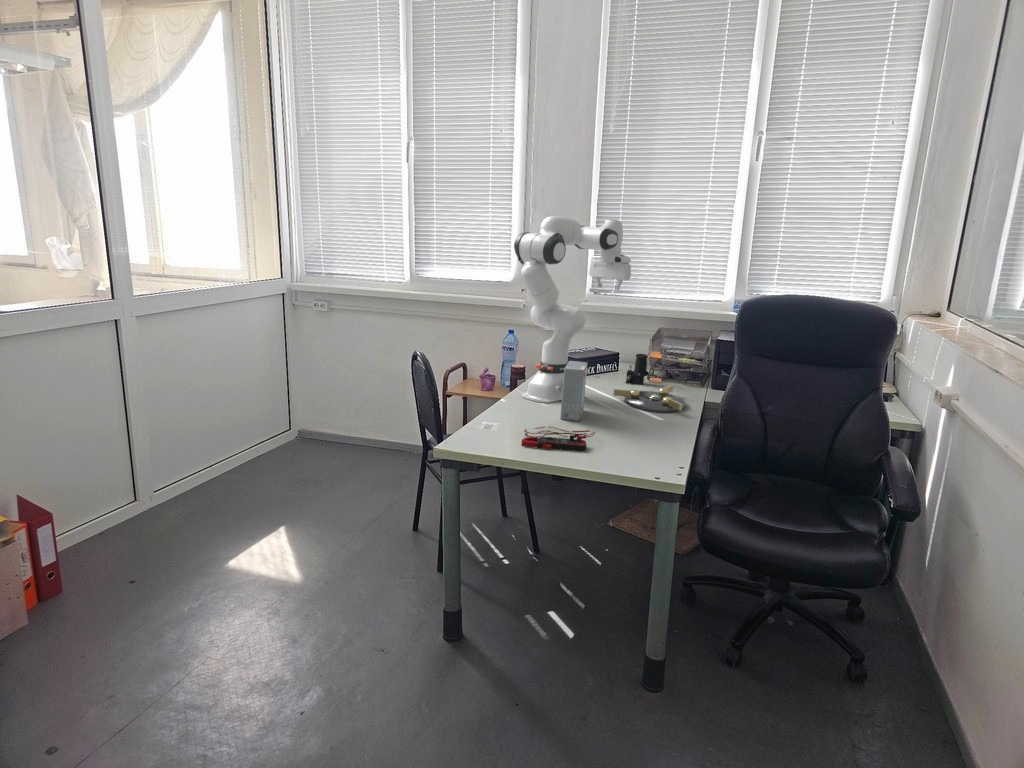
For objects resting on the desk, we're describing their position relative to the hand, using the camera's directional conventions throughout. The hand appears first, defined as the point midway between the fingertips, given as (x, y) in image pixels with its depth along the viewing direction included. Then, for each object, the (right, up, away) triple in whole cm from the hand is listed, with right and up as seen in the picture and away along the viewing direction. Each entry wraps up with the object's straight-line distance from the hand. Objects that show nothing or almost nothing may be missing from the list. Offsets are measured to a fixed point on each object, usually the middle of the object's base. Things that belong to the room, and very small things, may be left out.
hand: (608, 288), depth 285 cm
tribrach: (+17, -51, -18) cm, 57 cm away
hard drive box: (-20, -55, -38) cm, 70 cm away
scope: (+16, -43, +15) cm, 48 cm away
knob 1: (+5, -48, -17) cm, 51 cm away
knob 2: (+22, -52, -29) cm, 63 cm away
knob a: (+24, -47, -9) cm, 53 cm away
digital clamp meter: (-27, -63, -66) cm, 95 cm away
